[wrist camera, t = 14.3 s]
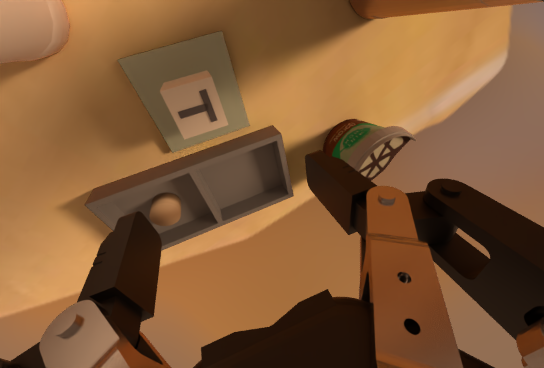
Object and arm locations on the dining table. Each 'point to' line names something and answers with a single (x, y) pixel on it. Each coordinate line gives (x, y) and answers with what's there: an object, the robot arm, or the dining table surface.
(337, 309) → the robot arm
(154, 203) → the tan oval stone
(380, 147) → the food container
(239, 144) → the organiser tray
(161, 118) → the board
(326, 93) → the dining table surface
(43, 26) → the bottle
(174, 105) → the letter cube
